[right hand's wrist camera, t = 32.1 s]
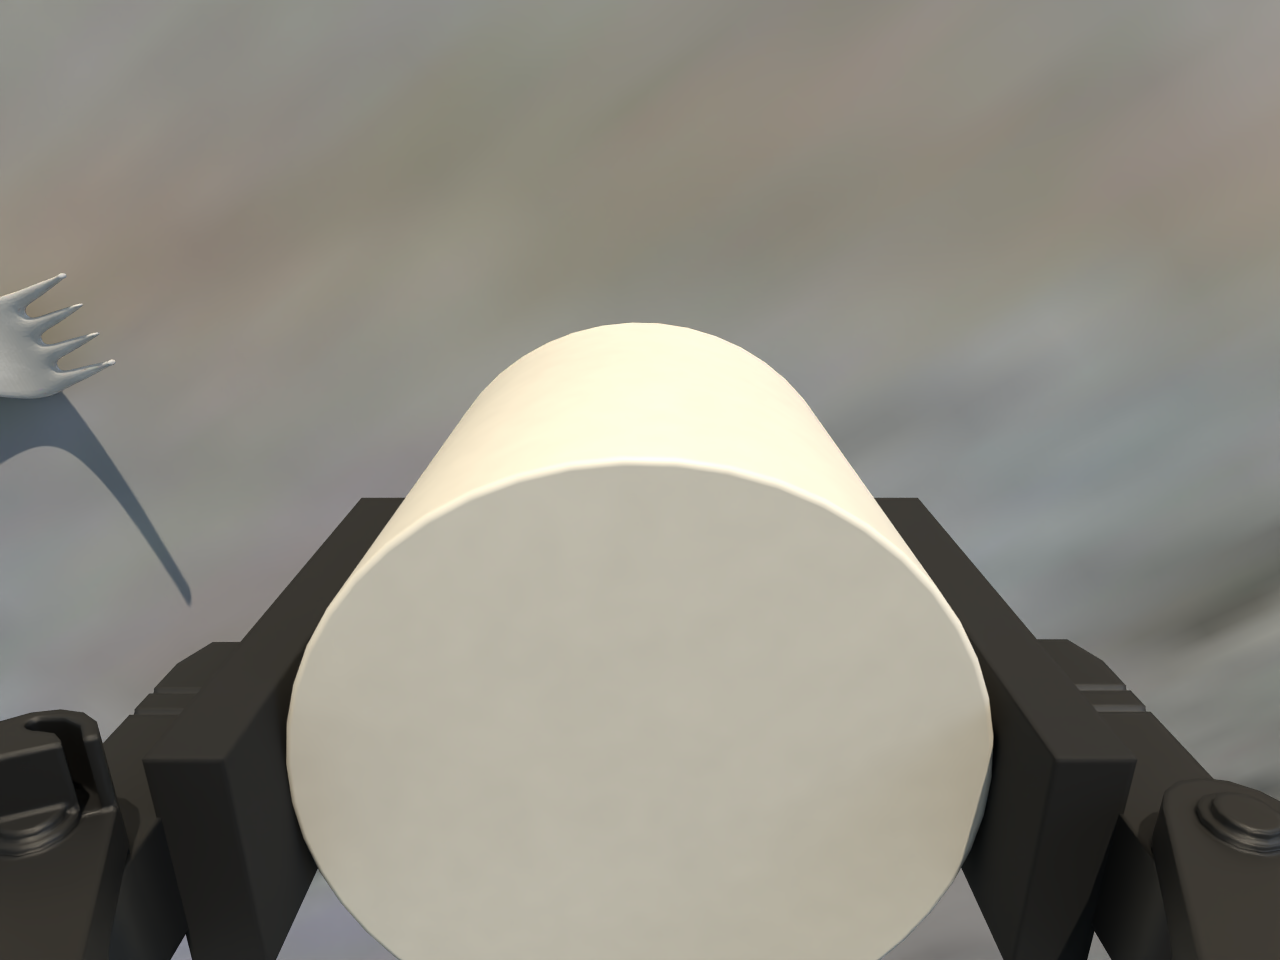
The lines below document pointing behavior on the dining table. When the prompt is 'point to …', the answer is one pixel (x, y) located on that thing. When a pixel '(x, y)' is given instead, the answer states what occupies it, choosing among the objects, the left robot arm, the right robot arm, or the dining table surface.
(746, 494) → the canister
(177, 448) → the dining table surface
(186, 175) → the dining table surface
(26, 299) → the fork
